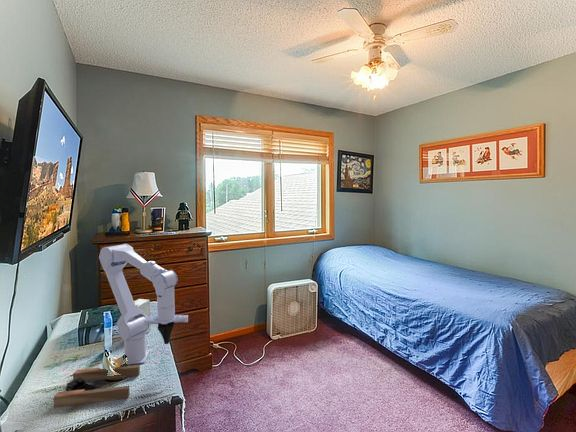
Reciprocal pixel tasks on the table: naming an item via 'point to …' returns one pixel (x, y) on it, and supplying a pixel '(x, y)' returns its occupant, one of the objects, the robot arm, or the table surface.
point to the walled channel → (98, 394)
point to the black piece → (79, 385)
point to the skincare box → (143, 308)
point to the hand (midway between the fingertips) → (167, 342)
